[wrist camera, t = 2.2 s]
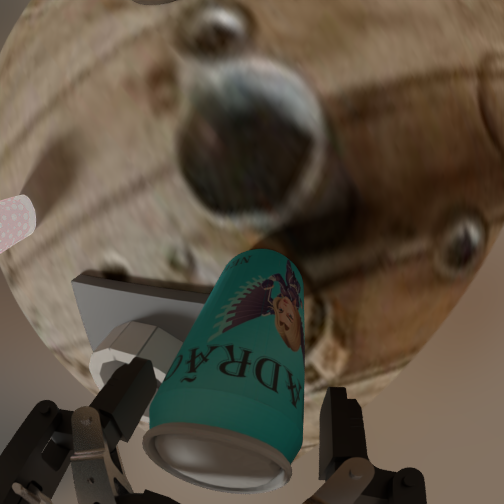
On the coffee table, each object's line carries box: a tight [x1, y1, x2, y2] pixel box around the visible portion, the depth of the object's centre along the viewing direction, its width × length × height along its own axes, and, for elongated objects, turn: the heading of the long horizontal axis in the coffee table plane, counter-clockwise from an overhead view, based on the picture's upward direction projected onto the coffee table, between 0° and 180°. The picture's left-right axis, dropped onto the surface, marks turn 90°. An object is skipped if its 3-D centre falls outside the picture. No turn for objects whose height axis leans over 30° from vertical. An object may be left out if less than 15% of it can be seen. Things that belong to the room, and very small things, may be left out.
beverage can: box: [142, 249, 305, 494], centre depth 14 cm, size 6×6×15 cm
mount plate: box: [71, 274, 210, 423], centre depth 24 cm, size 16×16×6 cm
